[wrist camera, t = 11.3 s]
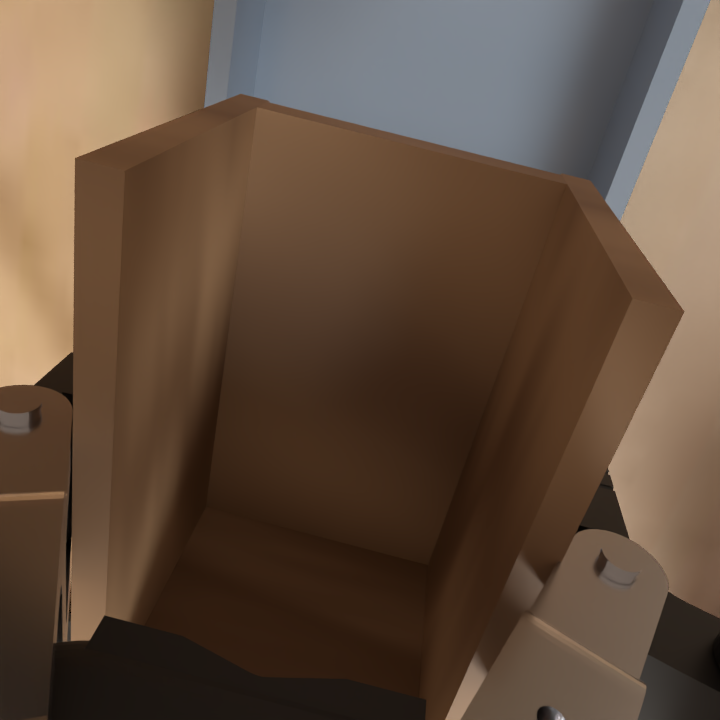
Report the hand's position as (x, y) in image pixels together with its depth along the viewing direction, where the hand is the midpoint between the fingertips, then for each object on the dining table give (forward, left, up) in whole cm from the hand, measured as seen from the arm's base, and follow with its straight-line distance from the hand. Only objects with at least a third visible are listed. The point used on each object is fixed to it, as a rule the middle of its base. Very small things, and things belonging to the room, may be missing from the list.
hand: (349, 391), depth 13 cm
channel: (0, 0, -1) cm, 1 cm away
